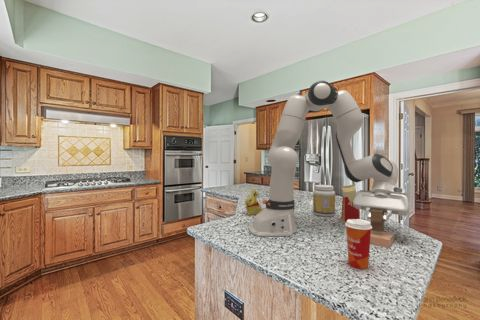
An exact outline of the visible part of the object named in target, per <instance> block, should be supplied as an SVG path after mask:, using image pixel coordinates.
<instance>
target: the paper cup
mask: <svg viewBox="0 0 480 320" xmlns="http://www.w3.org/2000/svg"><path fill="white" fill-rule="evenodd" d="M344 225H345V226H346V228H345V229H346V243H347V259H348V265H349V266H350V267H352V268H354V269H358V270H365V269H368V268H369V262H370V247H371V244H370V236H371V229H372V226H371V221H369V220H365V219H361V218H360V219H356V220H355V219H351V220H350V219H348V220H347V222H346V223H344Z"/></svg>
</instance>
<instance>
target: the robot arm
mask: <svg viewBox="0 0 480 320" xmlns="http://www.w3.org/2000/svg"><path fill="white" fill-rule="evenodd" d="M324 109H326V110H328V111H329V112H330V113H331V114H332V116H333V119H334V122H335V123H336V133H335V139H336V143H337V147H338V150H339V153H340V156H341V160H342V162H343V166H344V167H343V168H344V173H345V177H346V178H347V179H349V180H350V181H351V182H354V183H360V182H364V181H366V180H368V179H369V180H370V179H373V183H372V186H371V190H363V189H361V190H359V191H356V195H355V199H354V201H353V205H354V207H355V208H356V209H360V210H362V211H363V210H364V211H366V213H367V219H368V220H371V210H372V209H378V210H384V216H383V218H382V220H383V221H384V223H388V219H389V218H390V217H392V216H393V215H398V216H405V217H406V216H409V215H410V201H409V199H408V193H407V190H406V189H405V188H401V187H398V186H396V185H397V182H398V178H399V177H398V176H399V170H398V169H399V168H398V166H397V164H396V163H395V162H394V161H392V160H389V158H387V157H385V156H383V155H381V154H380V153H379V154H378V153H374V154H371V155H368V156H365V157H362V158H359V159H356V158H355V155H354V152H353V147H352V145H351V141H352V138H353V137H354V135H356V133H357V132H358V131H360V129H361V127H362V126H363V123H364V115H363V112H362V110H361V108H360V107H359V105H358V103H357V102H356V100H355V99H354V97H353V96H352V94H351V93H350V92H349V91H348V90H344V89H343V90H342V89H341V90H338V89H337V87H334V86H333V85H332V84H331V83H330V82H328V81H326V80H318V81H316V82H314V83H312V84H311V85H310V87H309V88H308V90H307V92H306V93H305V94H303V95H299V94H293V95H291V96H289V97H288V99H287V101H286V102H285V105H284V107H283V110H282V113H281V116H280V120H279V123H278V126H277V129H276V132H275V136H274V137H273V140H272V143H271V145H270V148H269V151H268V154H267V158H266V159H267V163H268V165H269V166H270V167H271V173H270V180H269V199H268V200H266V199H263V200H262V204H263V205H265V208H263V209H262V211H261V212H260V213H258V214H256V215H254V219H253V224H250V225H249V226H248V231H249V232H250V233H251V234H252V235H253V236H257V237H292V236H293V234H294V233H296V232H297V231H298V228H297V225H296V219H295V206H296V205H295V200H294V183H295V177H296V170H297V165H298V163H299V156H298V152H297V151H296V150H295V147H296V146H297V144H298V142H299V140H300V138H301V135H302V132H303V128H304V125H305V122H306V118H307V115H308V113H318V112H321V111H322V110H324ZM385 214H386V215H385Z"/></svg>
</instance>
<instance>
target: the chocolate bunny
mask: <svg viewBox="0 0 480 320" xmlns="http://www.w3.org/2000/svg"><path fill="white" fill-rule="evenodd" d="M258 196H259V191H257V190H256V189H254V188H253V189H252V190H251V192H250V194H249V195H248V196H247V197H246V198H245V200H244V203H245V205H246V206H245V209H246V211H247V213H246V215H247V216H256V215H257V214H258V213H260V212H261V211H262V210H263V209H262V206H261V204H260V202H259V201H258V200H257V198H258Z"/></svg>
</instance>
